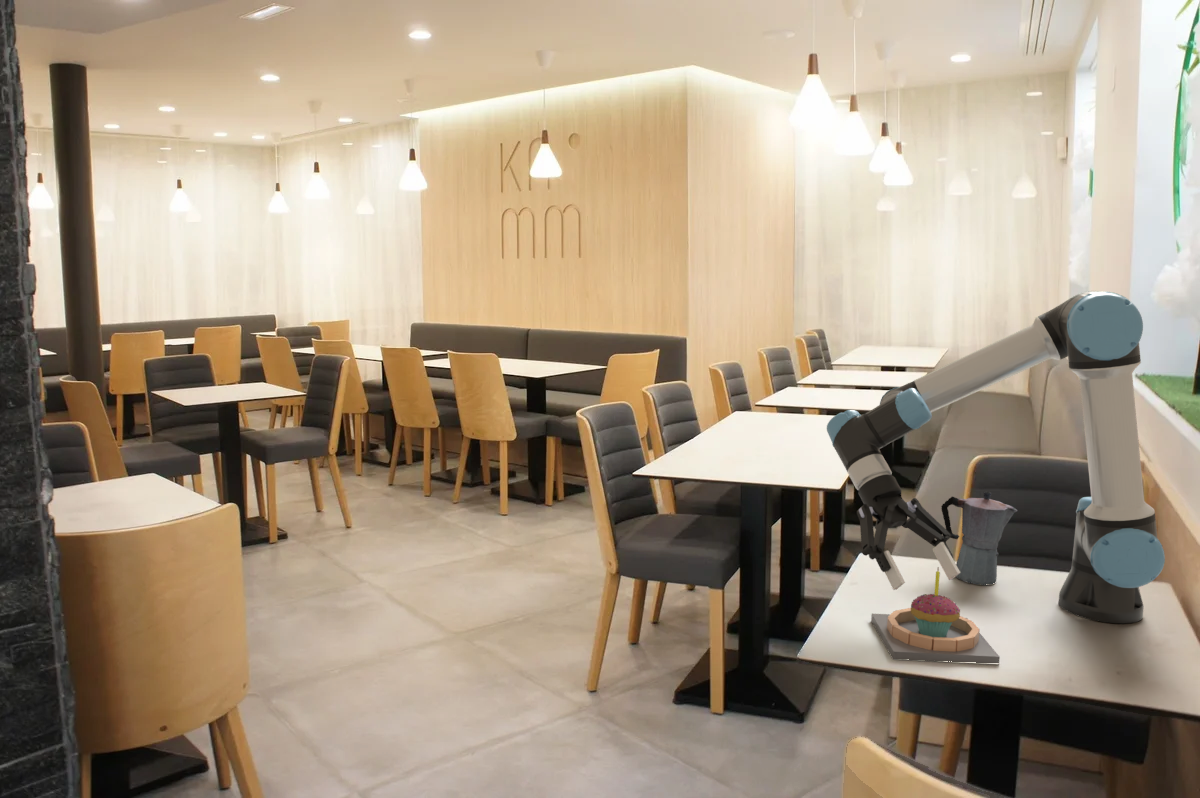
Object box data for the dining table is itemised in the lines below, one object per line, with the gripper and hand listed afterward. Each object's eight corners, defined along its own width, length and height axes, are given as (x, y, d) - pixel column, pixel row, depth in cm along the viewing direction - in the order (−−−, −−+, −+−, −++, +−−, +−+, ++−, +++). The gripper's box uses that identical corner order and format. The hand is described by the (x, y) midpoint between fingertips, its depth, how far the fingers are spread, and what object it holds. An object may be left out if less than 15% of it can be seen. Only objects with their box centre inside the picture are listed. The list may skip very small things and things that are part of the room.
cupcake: (909, 621, 178) (913, 560, 177) (957, 628, 176) (962, 566, 174) (908, 638, 170) (913, 574, 169) (959, 645, 168) (964, 580, 166)
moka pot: (1015, 589, 202) (1023, 498, 199) (939, 583, 205) (946, 493, 202) (1005, 575, 211) (1013, 488, 209) (933, 569, 214) (940, 483, 212)
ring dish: (966, 625, 181) (967, 608, 181) (998, 664, 164) (1000, 645, 163) (871, 620, 183) (872, 603, 182) (893, 659, 165) (894, 640, 164)
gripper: (912, 487, 192) (964, 581, 181) (814, 499, 181) (863, 600, 170) (933, 467, 187) (989, 563, 175) (834, 478, 176) (886, 580, 164)
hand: (927, 581), depth 173 cm, fingers open, 13 cm apart
